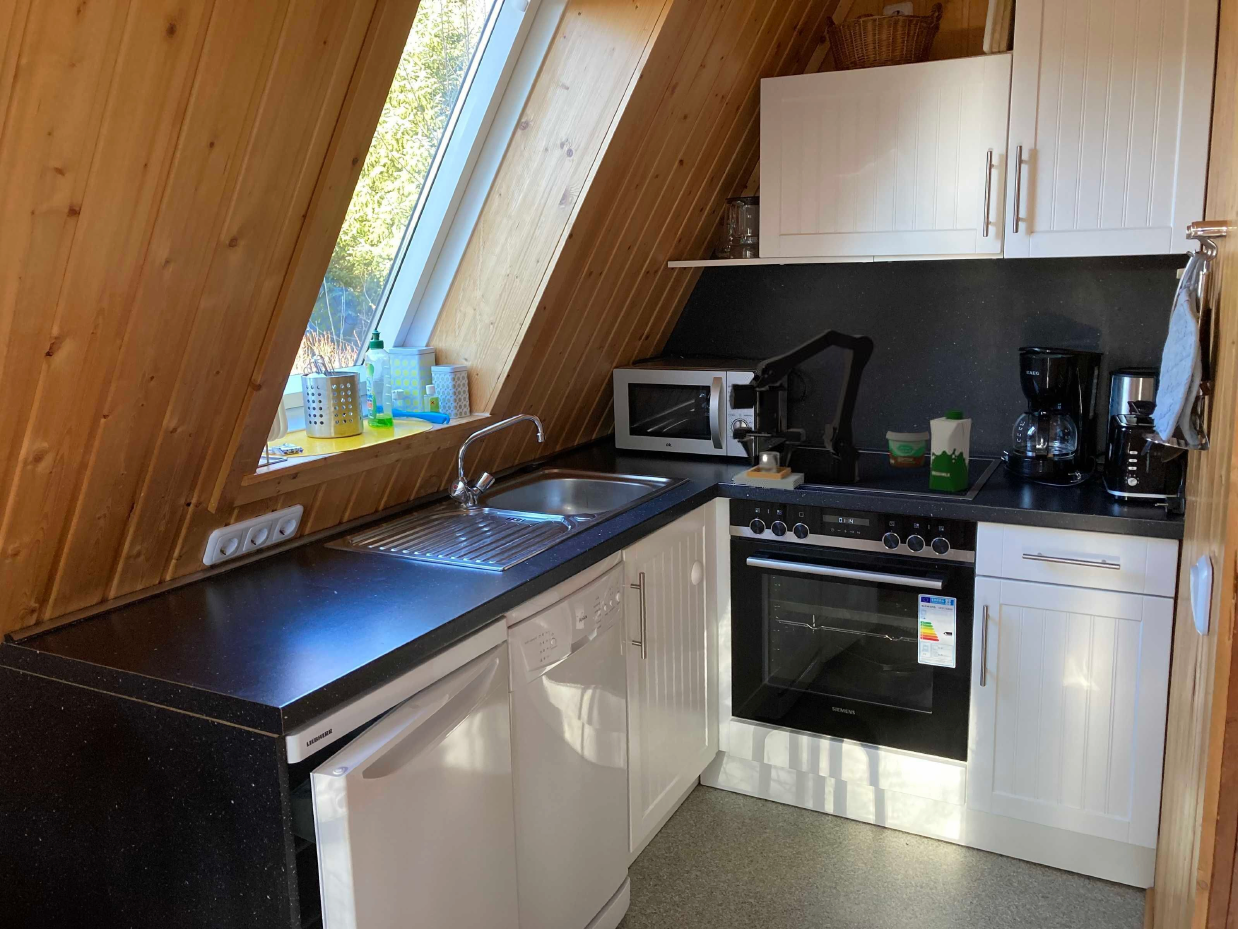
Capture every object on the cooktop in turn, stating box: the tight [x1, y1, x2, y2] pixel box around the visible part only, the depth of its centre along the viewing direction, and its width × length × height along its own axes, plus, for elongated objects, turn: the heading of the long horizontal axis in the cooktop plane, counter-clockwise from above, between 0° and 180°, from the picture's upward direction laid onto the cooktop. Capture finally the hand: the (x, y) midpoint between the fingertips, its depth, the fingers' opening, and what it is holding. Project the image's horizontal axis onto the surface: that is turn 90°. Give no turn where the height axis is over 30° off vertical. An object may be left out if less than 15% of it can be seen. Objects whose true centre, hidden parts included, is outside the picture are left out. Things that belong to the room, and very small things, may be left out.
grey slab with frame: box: [733, 465, 805, 491], centre depth 270 cm, size 16×10×4 cm, turn 65°
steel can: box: [758, 451, 780, 473], centre depth 269 cm, size 5×5×6 cm
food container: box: [885, 430, 930, 468], centre depth 291 cm, size 12×6×10 cm, turn 80°
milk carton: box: [928, 409, 972, 493], centre depth 258 cm, size 9×9×20 cm
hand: (768, 466), depth 269 cm, fingers open, 9 cm apart
